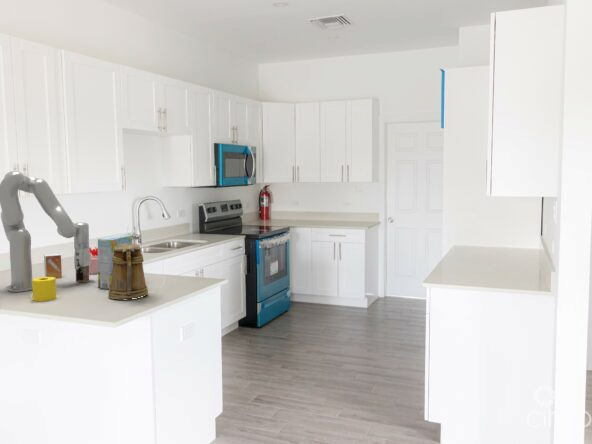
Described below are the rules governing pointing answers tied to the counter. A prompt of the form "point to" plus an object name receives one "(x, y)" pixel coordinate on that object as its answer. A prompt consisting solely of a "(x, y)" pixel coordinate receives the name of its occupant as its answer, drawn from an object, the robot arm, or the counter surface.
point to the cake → (93, 261)
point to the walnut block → (84, 274)
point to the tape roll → (44, 288)
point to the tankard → (127, 273)
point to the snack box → (108, 257)
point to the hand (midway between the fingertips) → (82, 278)
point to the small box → (53, 265)
